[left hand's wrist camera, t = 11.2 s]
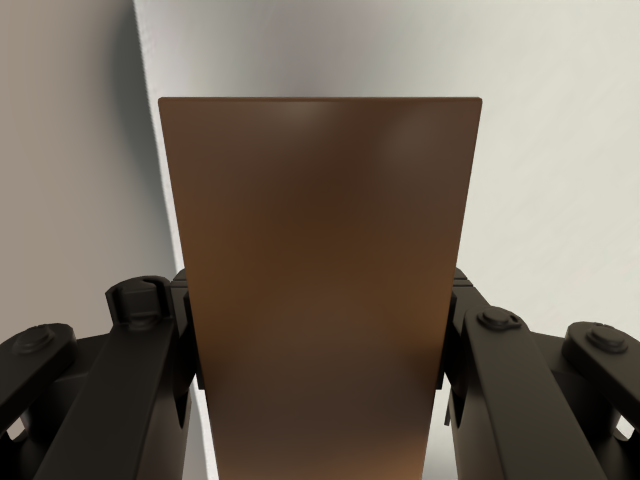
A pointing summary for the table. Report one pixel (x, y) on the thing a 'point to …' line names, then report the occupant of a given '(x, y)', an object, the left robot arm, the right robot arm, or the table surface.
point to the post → (320, 273)
